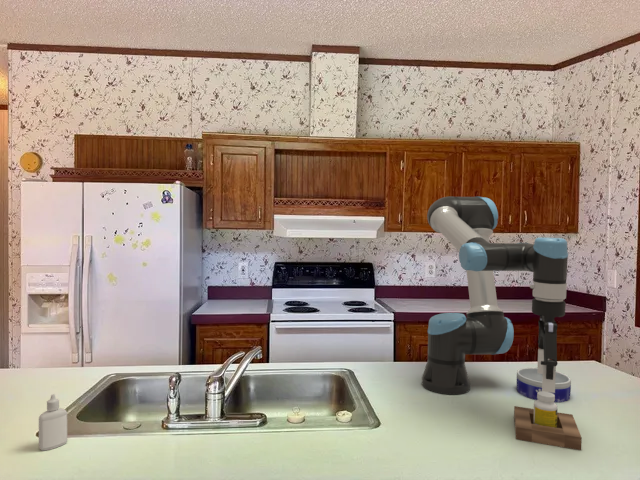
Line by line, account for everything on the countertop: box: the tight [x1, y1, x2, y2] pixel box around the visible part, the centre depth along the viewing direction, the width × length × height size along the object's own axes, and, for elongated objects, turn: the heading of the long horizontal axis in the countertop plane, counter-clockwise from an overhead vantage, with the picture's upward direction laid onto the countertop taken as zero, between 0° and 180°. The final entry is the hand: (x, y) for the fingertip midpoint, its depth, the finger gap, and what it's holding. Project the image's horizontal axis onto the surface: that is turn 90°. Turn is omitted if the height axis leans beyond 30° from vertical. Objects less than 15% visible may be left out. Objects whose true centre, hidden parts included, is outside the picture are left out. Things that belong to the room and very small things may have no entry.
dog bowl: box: [516, 367, 572, 404], centre depth 141 cm, size 15×15×6 cm
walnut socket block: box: [513, 405, 583, 451], centre depth 114 cm, size 14×14×3 cm
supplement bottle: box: [533, 391, 558, 428], centre depth 114 cm, size 5×5×10 cm
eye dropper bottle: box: [38, 393, 68, 451], centre depth 104 cm, size 4×6×12 cm
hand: (545, 382), depth 114 cm, fingers open, 13 cm apart
